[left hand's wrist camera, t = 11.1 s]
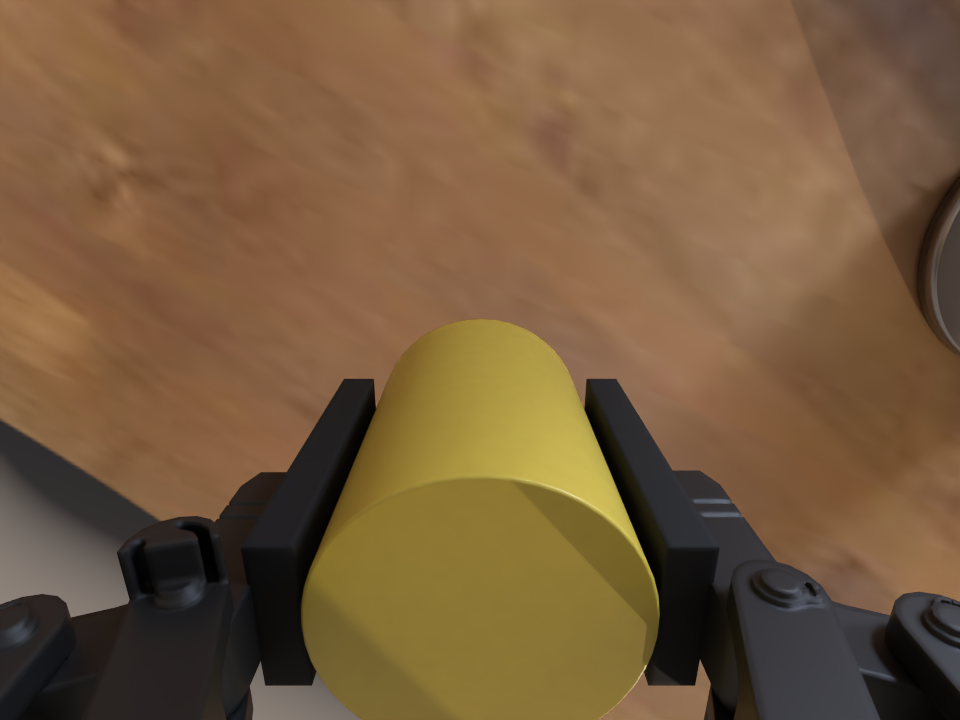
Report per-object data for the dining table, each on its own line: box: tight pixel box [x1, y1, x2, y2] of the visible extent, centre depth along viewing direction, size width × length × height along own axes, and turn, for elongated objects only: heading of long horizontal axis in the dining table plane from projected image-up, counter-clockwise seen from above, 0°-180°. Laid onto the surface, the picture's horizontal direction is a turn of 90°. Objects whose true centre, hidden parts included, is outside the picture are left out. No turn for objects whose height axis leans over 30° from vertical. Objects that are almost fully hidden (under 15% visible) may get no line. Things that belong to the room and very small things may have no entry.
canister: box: [301, 319, 660, 720], centre depth 12 cm, size 5×5×8 cm
